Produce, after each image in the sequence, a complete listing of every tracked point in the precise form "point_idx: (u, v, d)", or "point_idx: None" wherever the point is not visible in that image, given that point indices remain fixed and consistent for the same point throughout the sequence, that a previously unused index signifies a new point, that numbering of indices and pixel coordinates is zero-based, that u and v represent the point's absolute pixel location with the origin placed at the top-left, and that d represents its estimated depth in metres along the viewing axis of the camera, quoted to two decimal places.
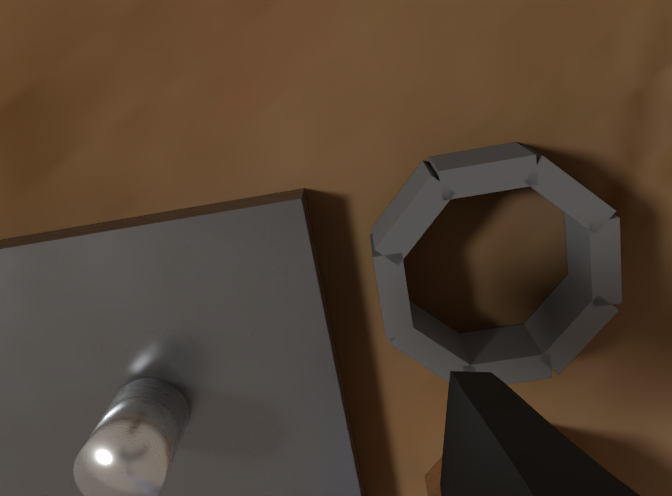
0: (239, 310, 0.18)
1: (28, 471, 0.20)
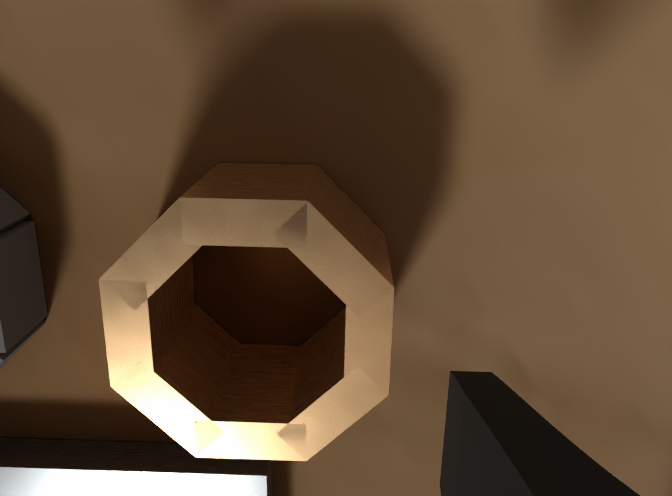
0: None
1: None
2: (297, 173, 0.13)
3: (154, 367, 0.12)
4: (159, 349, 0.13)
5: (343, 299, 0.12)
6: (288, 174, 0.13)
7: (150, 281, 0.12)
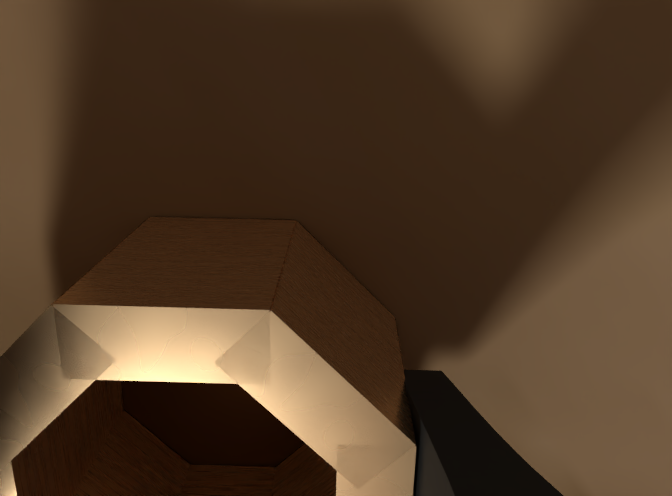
0: None
1: None
2: (263, 239, 0.09)
3: None
4: None
5: (332, 463, 0.07)
6: (249, 242, 0.09)
7: (13, 435, 0.07)
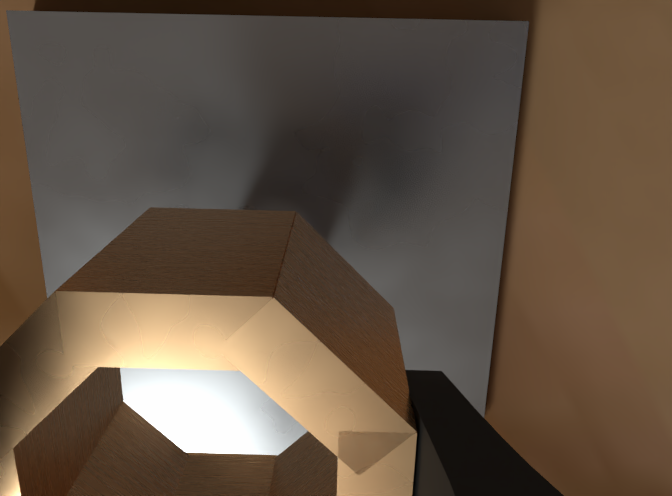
0: (146, 121, 0.15)
1: None
2: (264, 229, 0.09)
3: None
4: None
5: (333, 450, 0.07)
6: (249, 232, 0.09)
7: (16, 422, 0.07)
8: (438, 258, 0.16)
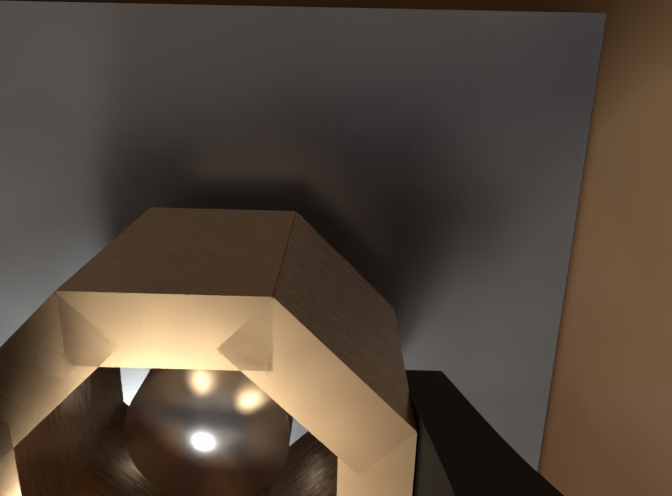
0: (64, 154, 0.11)
1: None
2: (264, 229, 0.09)
3: None
4: None
5: (333, 449, 0.07)
6: (249, 232, 0.09)
7: (16, 423, 0.07)
8: (470, 338, 0.12)
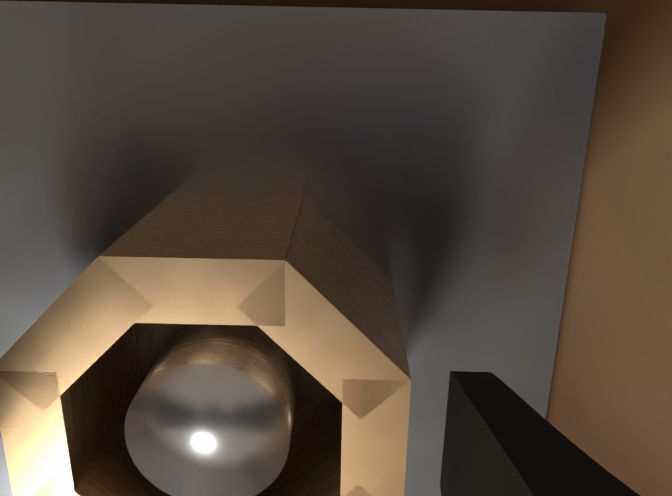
0: (65, 154, 0.11)
1: None
2: (275, 209, 0.10)
3: (75, 485, 0.09)
4: (84, 457, 0.09)
5: (338, 396, 0.08)
6: (263, 211, 0.10)
7: (62, 373, 0.08)
8: (470, 338, 0.12)
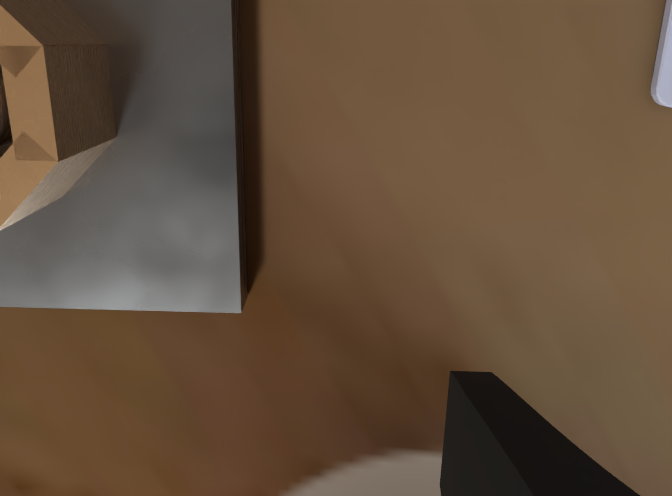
0: None
1: (82, 265, 0.17)
2: None
3: None
4: None
5: None
6: None
7: None
8: (170, 90, 0.16)
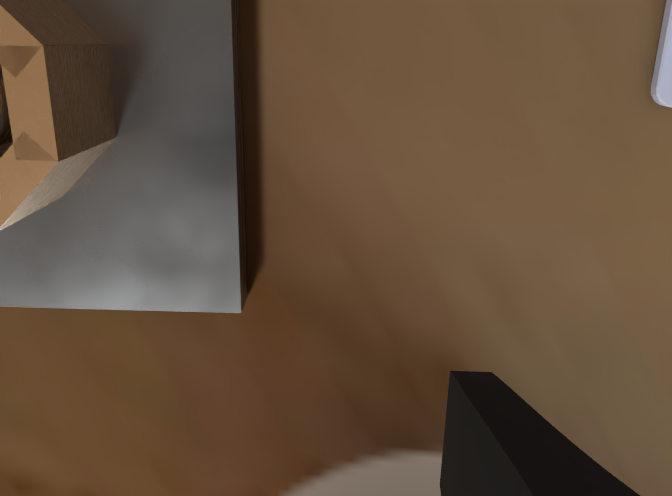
0: None
1: (82, 265, 0.17)
2: None
3: None
4: None
5: None
6: None
7: None
8: (170, 89, 0.16)
